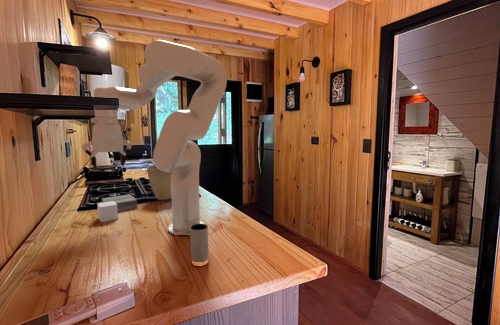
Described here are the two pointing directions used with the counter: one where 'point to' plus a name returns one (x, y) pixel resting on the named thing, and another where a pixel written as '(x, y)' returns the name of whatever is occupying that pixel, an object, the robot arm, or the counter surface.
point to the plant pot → (160, 182)
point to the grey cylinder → (199, 242)
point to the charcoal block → (122, 202)
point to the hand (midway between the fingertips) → (108, 166)
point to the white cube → (107, 211)
